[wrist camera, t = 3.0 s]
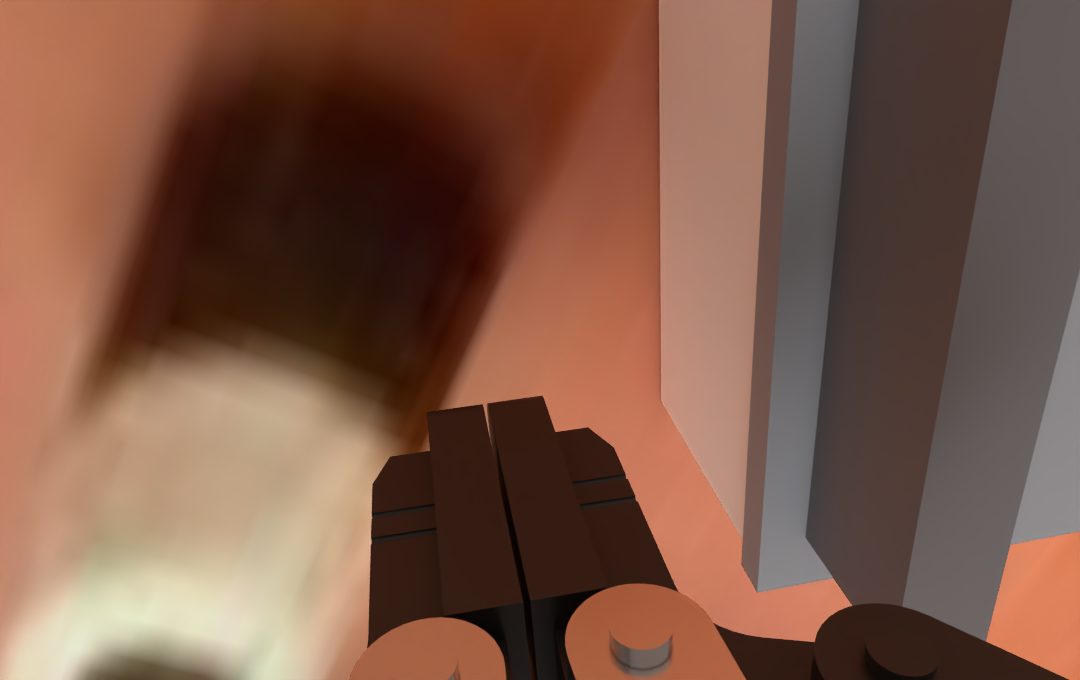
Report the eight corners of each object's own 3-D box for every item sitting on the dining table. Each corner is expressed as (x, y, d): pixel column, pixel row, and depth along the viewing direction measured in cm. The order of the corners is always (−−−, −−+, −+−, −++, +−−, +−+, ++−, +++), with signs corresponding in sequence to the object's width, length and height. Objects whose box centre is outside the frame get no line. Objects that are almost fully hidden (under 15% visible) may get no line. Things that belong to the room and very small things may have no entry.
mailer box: (657, -105, 16) (789, -119, 11) (1347, -162, 18) (1738, -197, 13) (661, 401, 22) (748, 551, 17) (1189, 317, 24) (1418, 429, 19)
